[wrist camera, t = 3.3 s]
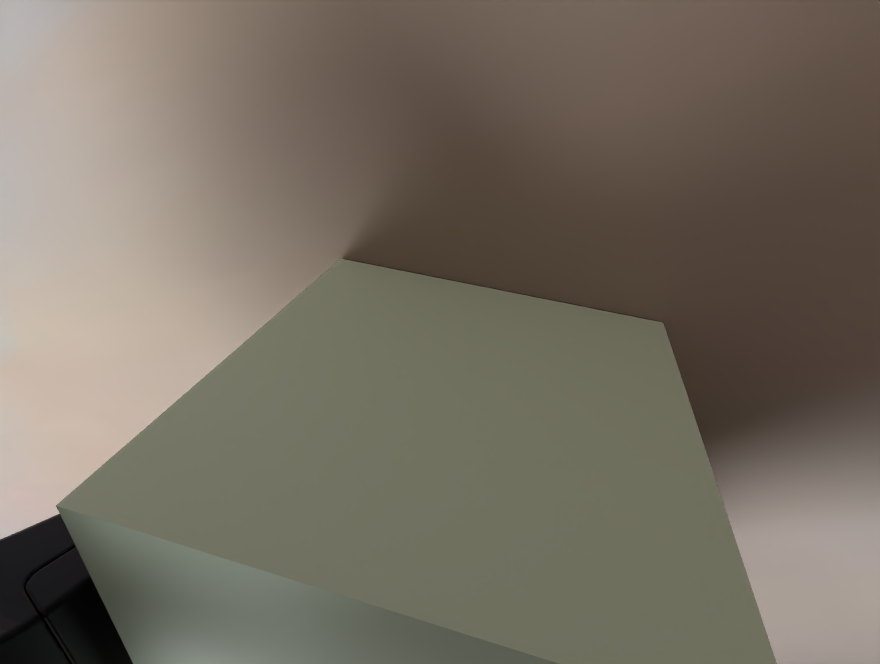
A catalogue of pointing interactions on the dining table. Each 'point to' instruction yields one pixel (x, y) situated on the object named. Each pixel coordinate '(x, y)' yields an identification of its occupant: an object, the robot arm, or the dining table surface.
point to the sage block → (423, 493)
